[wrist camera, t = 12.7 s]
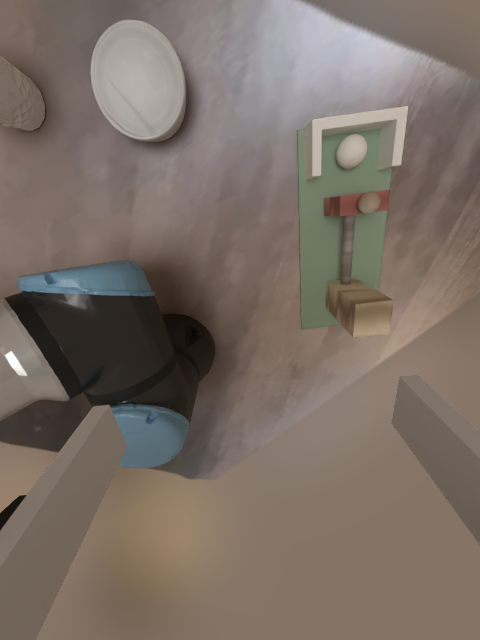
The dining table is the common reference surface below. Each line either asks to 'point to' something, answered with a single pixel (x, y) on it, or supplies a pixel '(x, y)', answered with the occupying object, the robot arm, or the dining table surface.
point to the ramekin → (139, 81)
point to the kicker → (351, 294)
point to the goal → (385, 119)
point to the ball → (351, 151)
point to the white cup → (19, 99)
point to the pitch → (337, 225)
